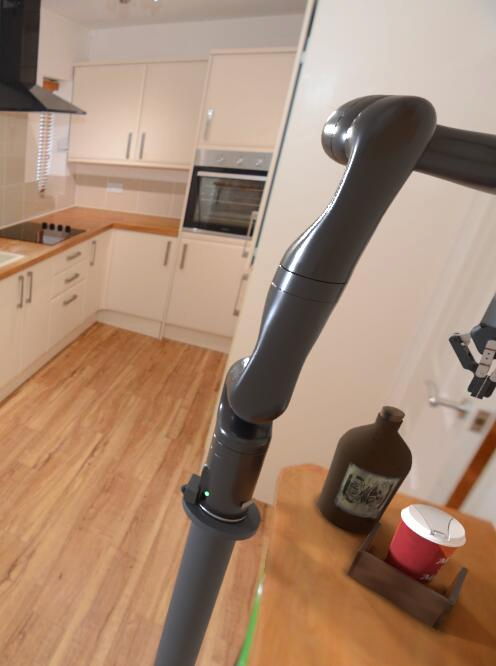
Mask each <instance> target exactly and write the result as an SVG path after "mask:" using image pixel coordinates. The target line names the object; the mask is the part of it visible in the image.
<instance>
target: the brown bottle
mask: <svg viewBox="0 0 496 666" xmlns="http://www.w3.org/2000/svg"><path fill="white" fill-rule="evenodd" d="M405 416H406V413H405V412H404V411H403V410H401V409H400V408H397V407H395V406H392V405H391V406H390V405H383V406H382V407H381V409H380V412H378V413H377V416H376V418H375V421H374V422H373V423H369V424H364V425H359V426H355V427H352V428H350V429H348V430H347V431H346V432H344V433H343V434H342V435H341V437H340V438H338V439H339V440H338V442H337V443H336V448H335V450H334V454H333V457H332V460H331V462H330V466H329V469H328V471H327V475H326V478H325V480H324V483H323V486H322V489H321V492H320V494H319V497H318V500H317V507H318V510H319V511H320V512H321V514H322V515H323V516H324V517H325V518H326V519H327V520H328V521H329V522H331V523H333V524H334V525H336V526H337V527H339V528H341V529H343V530H346V531H349V532H352V533H358V534H370V532H371V531H372V529H373V528H374V526H375V525H376V523H377V522H379V523H380V521H381V519H382V517H383V515H384V514H385V512H386V510H387V509H388V507H389V506H390V503H391V502H392V500H393V499H394V498H395V495H396V494H397V493H398V491H399V490H400V488H401V487H402V484H403V483H404V481H405V480H406V478H407V477H408V475H409V474H410V472H411V470H412V467H413V454H412V451H411V449H410V447H409V445H408V444H407V443H406V441H405V439H404V438H403V437H402V435H401V434H400V432H399V430H400V428H401V427H402V425H403V423H404V420H403V419H404V418H405Z"/></svg>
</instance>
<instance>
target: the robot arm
mask: <svg viewBox="0 0 496 666" xmlns="http://www.w3.org/2000/svg"><path fill="white" fill-rule="evenodd" d="M437 114H438V113H437V111H436V108H435V106H434V105H433V103H432V102H431V101H430V100H429V99H426V98H425V97H422V96H418V95H409V94H408V95H407V94H369V95H364V96H359V97H356V98H354V99H351V100H349V101H347V102H345V103H343V104H342V105H340V106H338V108H336V109H335V110H334V111H333V112H332V113H330V115H329V116H328V118H327V120H326V121H325V123H324V125H323V127H322V130H321V136H320V141H321V146H322V149H323V151H324V154H325V155H326V156H327V157H328V158H329V159H330V160H332V161H333V162H335V163H337V164H339V165H341V166H343V167H345V169H344V172H343V174H342V177H341V179H340V181H339V184H338V186H337V188H336V189H335V192H334V195H333V196H332V198H331V200H330V202H329V203H328V205H327V206H326V208H325V209H324V210H323V212H322V213H321V214H320V215H319V216H318V217H317V218H316V219H315V220H314V221H313V223H311V224H310V225H309V226H308V227H307V228H306V229H305V230H304V231H303V232H301V234H300V235H298V237H296V238H295V240H294V241H293V242H292V243H291V244H290V245H289V247H288V248H287V249H286V250H285V252H284V253H283V256H282V257H281V259H280V261H279V264H278V266H277V268H276V271H275V273H274V275H273V277H272V280H271V282H270V284H269V288H268V290H267V294H266V297H265V301H264V306H263V310H262V315H261V319H260V320H261V321H260V325H259V329H258V335H257V340H256V342H255V345H254V348H253V351H252V353H251V355H249V356H245V357H242V358H239V359H238V360H236V361H235V362H234V363H233V364H232V365H231V366H230V367H229V369H227V372H226V375H225V378H224V380H223V381H224V382H223V386H222V389H221V393H220V394H221V395H220V398H219V402H218V407H217V410H216V411H217V412H216V419H215V425H214V429H213V433H212V438H211V441H210V445H209V448H208V452H207V456H206V460H205V462H204V464H203V466H202V469H201V473H200V475H199V474H196V473H194V472H192V474H191V476H190V478H189V480H188V482H187V483H184V484H182V485H181V486H180V492H181V493H182V497H183V500H185V501H187V502H189V503H192V504H195V505H197V506H199V507H200V509H201V510H202V511H203V512H204V513H205V514H207V515H208V516H210V517H211V518H213V519H215V520H217V521H220V522H223V523H228V524H236V523H240V522H242V521H243V520H245V518H246V516H247V513H248V509H249V505H250V504H252V503H255V501H256V500H255V499H256V497H254V493H255V490H256V487H257V484H258V482H259V478H260V475H261V472H262V469H263V466H264V464H265V460H266V457H267V454H268V451H269V449H270V445H271V443H272V439H273V429H274V428H273V427H274V421H276V420H277V419H279V418H280V417H281V416H282V415H283V414H284V413H285V412H286V411H287V409H288V407H289V405H290V403H291V400H292V397H293V395H294V391H295V389H296V385H297V383H298V380H299V377H300V375H301V372H302V370H303V367H304V364H305V363H306V360H307V359H308V356H309V355H310V353H311V351H312V350H313V348H314V346H315V344H316V343H317V341H318V340H319V338H320V336H321V334H322V332H323V331H324V328H325V327H326V324H327V323H328V321H329V319H330V317H331V315H332V314H333V312H334V310H335V309H336V307H337V305H338V303H339V302H340V300H341V298H342V296H343V295H344V292H345V290H346V289H347V287H348V285H349V284H350V283H349V282H350V281H351V278H352V276H353V274H354V272H355V270H356V268H357V266H358V263H359V262H360V261H361V258H362V256H363V254H364V253H365V250H366V249H367V247H368V246H369V243H370V242H371V240H372V238H373V236H374V235H375V233H376V231H377V229H378V227H379V225H380V224H381V222H382V220H383V219H384V216H385V215H386V213H387V212H388V210H389V208H391V205H392V203H394V201H395V199H396V198H397V196H398V194H399V193H400V192H401V190H402V188H403V187H404V186H405V184H406V182H407V181H408V180H409V178H410V176H411V175H412V173H414V172H415V173H419V174H423V175H425V176H426V175H427V176H429V177H433V178H437V179H440V180H442V181H446V182H449V183H451V184H455V185H459V186H462V187H465V188H467V189H471V190H474V191H477V192H481V193H484V194H489V195H491V196H496V134H495V133H487V132H482V131H474V130H468V129H462V128H457V127H452V126H447V125H444V124H443V125H442V124H438V115H437ZM471 339H472V342H473V344H474V346H475V348H476V351H477V352H478V353H479V354H480V356H481V357H480V360H479V362H477V361H476V359H475V357H474V355H473V353H472V351H471V350H470V347H469V345H470V344H471ZM448 342H449V344H450V346H451V348H452V350H453V351H454V354H455V355H456V357H457V360H458V361H459V363H460V365H461V366H462V368H463V369H465V370H467V371H470V372H471V373H472V375H473V376H472V379H471V381H470V383H469V385H468V387H467V388H466V389H467V392H468V393H470V394H469V395H470V397H473V398H476V399H478V400H483V398H486V399H488V398H490V397H492V395H493V394H494V391H495V390H496V367H495V368H494V370H493V371H492V372H491V373H490V375H488V373H489V372H490V369H491V367H492V365H493V363H494V360H496V291H494V294H493V296H492V298H491V300H490V302H489V304H488V306H487V308H486V310H485V312H484V314H483V316H482V318H481V320H480V321H479V323H478V324H477V325H475V326H473V328H472V329H471V330H470V331H467V332H466V331H465V332H462V333H460V332H454V333H452V334H451V335H450V336H449V338H448ZM183 494H184V496H183ZM253 497H254V498H253Z"/></svg>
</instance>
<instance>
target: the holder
mask: <svg viewBox="0 0 496 666" xmlns="http://www.w3.org/2000/svg"><path fill="white" fill-rule="evenodd" d="M382 525H383V523H381V522H380V521H379V522H377V523H376V525H375V526H374V528H373V529H372V531H371V532H369V533H368V535H367V537H366V538H365V540H364V541H363V542H362V544H361V546H360V547H359V549H358V551H357V552H356V554H355V556H354V558H353V560H352V562H351V564H350V566H349V568H348V570H347V572H346V575H348V576H350V577H351V578H352V579H354V580H355V581H358V582H359V583H361V584H363V585H364V586H366V587H367V588H369V589H371V590H372V591H374V592H375V593H377V594H379V595H380V596H382V597H383V598H385V599H386V600H388V601H390V602H392V604H395V605H396V606H398V607H399V608H401V609H402V610H404V611H406V612H407V613H410V614H411V615H412V616H414V617H415V618H417V619H419V620H420V621H422V622H423V623H425V624H427V625H428V626H430V627H432V628H433V629H434V630H436V631H438V630H439V629H440V627H441V626H442V625H443V623H444V621H445V620H446V619H447V617H448V615H450V613H451V611H452V610H453V608H454V607H455V605H456V602H457V600H458V598H459V595H460V592H461V590H462V588H463V585H464V582H465V579H466V578H467V574H468V573H469V569H468V568H466V567H464V566H462V567H461V568H460V570H459V571H458V573H457V574H456V576H455V577H454V578H453V580H452V582H450V585H449V586H448V587H447V589H446V592H445V593H444V595H442V594H440V593H439V592H437V591H436V590H434V589H432V588H430V587H428V586H425V585H423V584H422V583H420V582H418V581H416V580H415V579H413V578H411V577H409V576H408V575H406V574H404V573H402V572H401V571H399V570H397V569H396V568H394V567H392V566H390V565H389V564H387V563H385V562H384V560H382V559H380V558H378V557H377V556H375V555H373V554H371V553H370V552H369V550H370V549H371V546H373V543H374V541H375V539H376V537H377V535H378V533H379V532H380V529H381V527H382Z"/></svg>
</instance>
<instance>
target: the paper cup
mask: <svg viewBox="0 0 496 666" xmlns="http://www.w3.org/2000/svg"><path fill="white" fill-rule="evenodd" d="M400 516H401V518H400V521H399V523H398V525H397V528H396V531H395V533H394V535H393V538H392V540H391V543H390V545H389V547H388V549H387V552H386V555H385V557H384V560H383V562H385V563H387V564H389V565H390V566H392V567H394V568H396V569H397V570H399V571H401V572H402V573H404V574H406V575H408V576H409V577H411V578H413V579H415V580H416V581H418V582H420V583H422V584H423V585H425V586H427V587H428V586H429V585H430V583H431V582H432V581H433V580H434V578H435V577H436V576H437V575H438V574H439V572H440V571H441V570H442V568H443V567H444V566H445V565H446V564H447V562H448V561H449V559H450V558H451V557H452V556H453V554H454V553H455V552H456V550H457V549H458V548H460V547H462V546H465V544H466V542H467V537H466V531H465V528H464V526H463V525H462V524H461V522H460V521H458V520H457V519H456V518H455V517H453V516H452V515H450V514H449V513H448V512H445V511H444V510H441V509H440V508H437V507H435V506H431V505H428V504H423V503H415V504H410V505H409V506H407V507H404V508H403V509H402V510H401V511H400Z"/></svg>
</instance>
